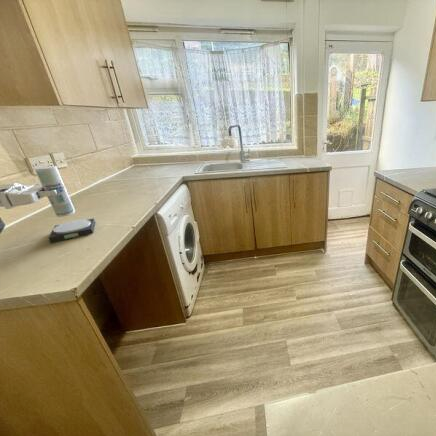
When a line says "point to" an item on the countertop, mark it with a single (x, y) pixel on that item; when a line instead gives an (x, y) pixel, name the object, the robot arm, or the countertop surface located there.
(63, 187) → the spray can
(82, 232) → the kitchen scale
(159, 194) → the countertop surface
